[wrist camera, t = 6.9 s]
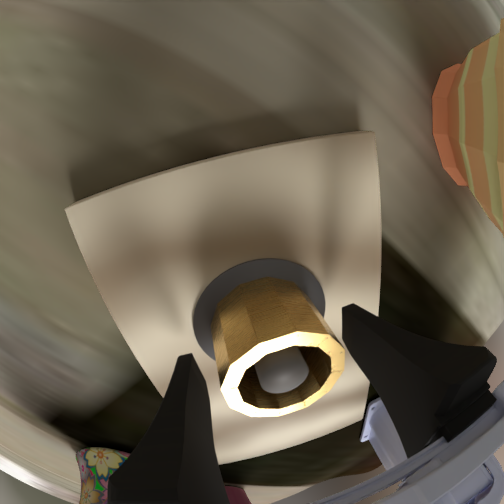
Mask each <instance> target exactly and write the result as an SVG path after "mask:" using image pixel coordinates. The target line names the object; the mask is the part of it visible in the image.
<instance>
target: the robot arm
mask: <svg viewBox="0 0 504 504" xmlns="http://www.w3.org/2000/svg"><path fill="white" fill-rule="evenodd" d="M342 340H343V342H344V344H345V346H346V348H347V349H348V351H349V353H350V355H351V356H352V358H353V359H354V361H355V362H356V363H357V365H358V366H359V368H360V369H361V370H362V372H363V373H364V375H365V376H366V377H367V379H368V380H369V381H370V383H371V384H372V386H373V387H374V388H375V390H376V392H377V393H378V395H379V398H377V399H375V400H373V401H371V402H370V403H369V404H368V408H367V412H366V417H365V421H364V425H363V429H362V433H361V437H360V441H361V442H364V441H366V440H368V439H369V441H370V443H371V444H372V446H373V448H374V450H375V451H376V453H377V455H378V457H379V458H380V460H381V462H382V464H383V466H384V467H385V469H386V471H385V472H383V473H381V474H379V475H377V476H375V477H373V478H371V479H369V480H367V481H365V482H362V483H361V484H358V485H356V486H353V487H351V488H349V489H346V490H344V491H341V492H339V493H337V494H334V495H331V496H329V497H326V498H323V499H320V500H317V501H315V502H311V503H308V504H354V503H356V502H358V501H361V500H363V499H365V498H367V497H369V496H372V495H374V494H376V493H377V492H380V491H382V490H384V489H385V488H387V487H389V486H391V485H393V484H395V483H397V482H398V481H400V480H401V481H402V483H401V484H399V485H398V486H399V488H398V489H397V491H396V492H394V493H392V494H390V495H388V496H386V497H384V498H382V499H380V500H378V501H375V502H373V503H371V504H499V503H500V501H501V499H502V497H503V495H504V472H503V470H502V467H501V465H500V463H499V462H498V460H497V459H496V458H495V456H494V455H493V454H494V453H495V452H496V451H497V449H499V448H500V447H501V446H502V445H503V443H504V381H503V382H501V383H500V384H499V385H498V386H497V388H496V389H495V390H494V391H493V393H491V392H490V391H489V390H488V389H489V388H490V385H489V384H488V383H487V380H488V378H489V376H490V375H491V373H492V371H493V369H494V367H495V365H496V362H497V359H496V357H495V356H494V355H493V354H492V353H491V352H490V351H489V350H488V349H487V348H486V347H480V346H464V345H457V344H451V343H445V342H441V341H437V340H433V339H429V338H426V337H423V336H420V335H417V334H414V333H412V332H409V331H407V330H405V329H402V328H400V327H398V326H396V325H393V324H391V323H389V322H387V321H385V320H383V319H382V318H380V317H378V316H376V315H374V314H372V313H370V312H369V311H367V310H365V309H363V308H361V307H360V306H358V305H356V304H354V303H352V304H349V305H347V306H344V307H342ZM486 467H487V468H488V470H489V471H490V473H491V474H490V473H489V471H488V470H487V468H486ZM480 491H481V492H480ZM471 498H472V499H471ZM467 501H468V502H467ZM107 504H230V502H229V499H228V496H227V493H226V490H225V486H224V483H223V479H222V476H221V472H220V468H219V464H218V460H217V456H216V451H215V446H214V439H213V429H212V418H211V406H210V398H209V393H208V388H207V384H206V380H205V378H204V376H203V374H202V372H201V370H200V368H199V366H198V364H197V362H196V360H195V358H194V356H193V354H192V353H189V354H185V355H180V356H179V357H178V358H177V361H176V365H175V368H174V371H173V374H172V377H171V380H170V383H169V385H168V388H167V391H166V393H165V396H164V398H163V400H162V402H161V405H160V407H159V409H158V411H157V413H156V415H155V417H154V419H153V421H152V423H151V425H150V427H149V428H148V430H147V431H146V433H145V435H144V436H143V438H142V439H141V441H140V442H139V444H138V445H137V446H136V448H135V449H134V450H133V452H132V453H131V454H130V455H129V457H128V458H127V459H126V460H125V461H124V463H123V464H122V465H121V466H120V467H119V468H118V469H117V470H116V471H115V472H114V473H113V474H112V475H111V476H110V477H109V479H108V489H107Z"/></svg>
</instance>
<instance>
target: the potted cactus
mask: <svg viewBox="0 0 504 504" xmlns="http://www.w3.org/2000/svg"><path fill="white" fill-rule="evenodd" d="M432 112H433V136H434V139H435V142H436V146H437V149H438V152H439V156H440V159H441V163H442V167H443V168H444V169H445V170H446V171H447V173H448V174H449V175H450V176H451V177H452V179H453V180H454V181H455V182H456V183H457V185H459V186H468V187H469V189H470V191H471V192H472V194H473V196H474V197H475V198H476V200H477V201H478V203H479V204H480V206H481V207H482V209H483V210H484V212H485V213H486V215H487V216H488V218H489V219H490V220H491V221H492V222H493V223H494V225H495V226H496V227H497V228H498V229H499V230H500V231H501V232H502V233H503V237H504V18H503V19H501V24H500V33H498V34H496V35H494V36H493V37H491V38H489V39H488V40H486V41H484V42H482V43H481V44H479V45H477V46H476V47H474V48H472V49H471V50H470V52H469V53H468V55H467V57H466V58H465V60H464V61H463V63H462V64H458V63H457V64H455V65H453V66H451V67H449V68H446V69H444V70H442V71H441V74H440V76H439V79H438V82H437V85H436V87H435V90H434V93H433V95H432Z"/></svg>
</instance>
